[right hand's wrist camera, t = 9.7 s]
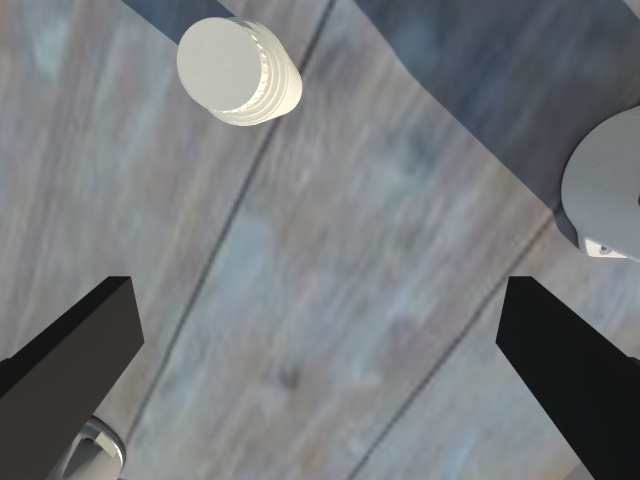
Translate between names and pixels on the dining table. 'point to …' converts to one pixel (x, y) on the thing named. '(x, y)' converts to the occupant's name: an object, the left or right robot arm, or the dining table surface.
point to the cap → (221, 65)
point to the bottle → (268, 81)
